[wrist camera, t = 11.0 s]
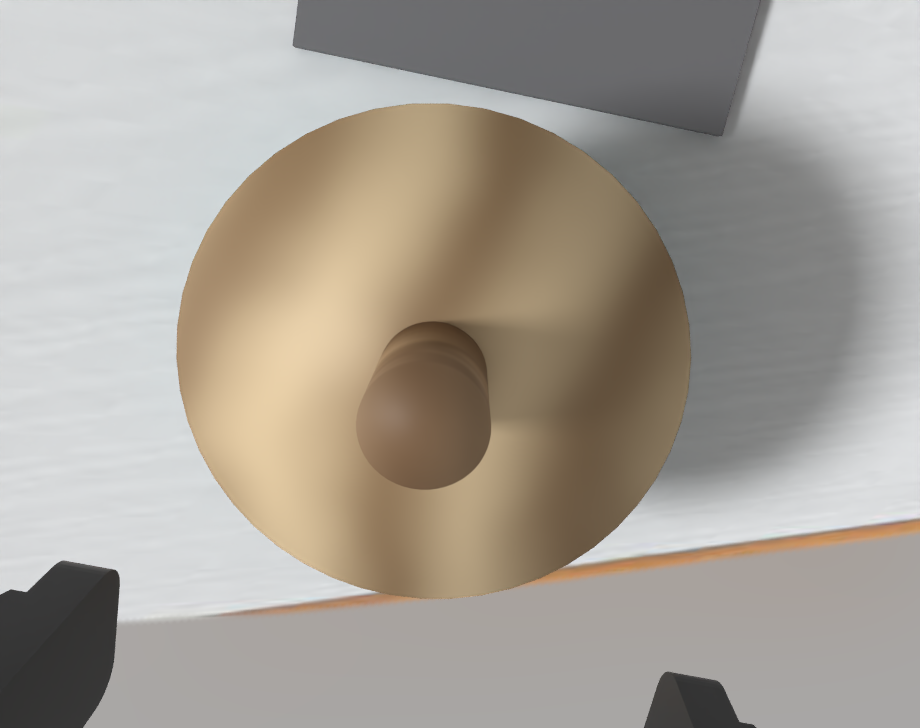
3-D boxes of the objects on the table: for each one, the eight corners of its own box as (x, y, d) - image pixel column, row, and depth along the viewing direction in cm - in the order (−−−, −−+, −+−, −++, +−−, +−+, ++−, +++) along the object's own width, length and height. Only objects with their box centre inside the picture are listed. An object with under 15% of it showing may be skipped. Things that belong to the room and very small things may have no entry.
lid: (743, 164, 24) (835, 167, 18) (612, 616, 28) (650, 739, 22) (216, 56, 23) (126, 20, 17) (169, 536, 27) (86, 641, 21)
